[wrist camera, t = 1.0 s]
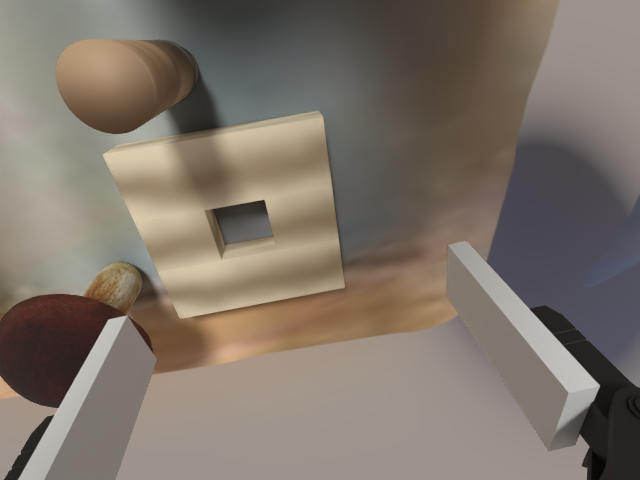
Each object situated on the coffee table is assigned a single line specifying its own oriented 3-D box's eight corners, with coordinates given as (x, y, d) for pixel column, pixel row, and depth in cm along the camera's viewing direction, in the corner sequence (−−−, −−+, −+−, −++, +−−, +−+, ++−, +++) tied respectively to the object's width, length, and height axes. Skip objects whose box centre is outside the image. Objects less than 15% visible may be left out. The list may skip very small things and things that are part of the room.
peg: (141, 44, 27) (35, 46, 15) (193, 36, 27) (131, 30, 15) (161, 100, 29) (82, 141, 17) (209, 92, 29) (166, 127, 17)
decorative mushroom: (102, 205, 33) (-7, 312, 20) (201, 266, 37) (164, 385, 24) (48, 278, 36) (-77, 411, 23) (146, 326, 40) (87, 459, 28)
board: (117, 145, 30) (102, 154, 28) (318, 110, 31) (323, 117, 28) (185, 300, 39) (180, 319, 37) (340, 271, 40) (345, 287, 37)
